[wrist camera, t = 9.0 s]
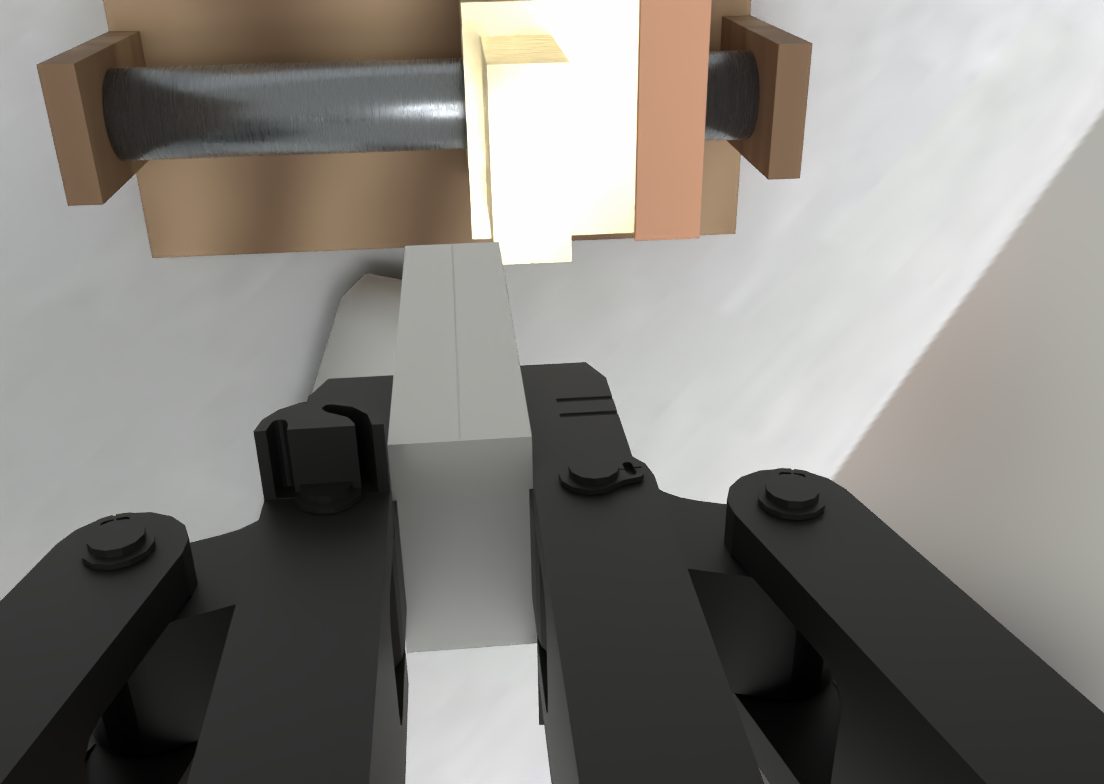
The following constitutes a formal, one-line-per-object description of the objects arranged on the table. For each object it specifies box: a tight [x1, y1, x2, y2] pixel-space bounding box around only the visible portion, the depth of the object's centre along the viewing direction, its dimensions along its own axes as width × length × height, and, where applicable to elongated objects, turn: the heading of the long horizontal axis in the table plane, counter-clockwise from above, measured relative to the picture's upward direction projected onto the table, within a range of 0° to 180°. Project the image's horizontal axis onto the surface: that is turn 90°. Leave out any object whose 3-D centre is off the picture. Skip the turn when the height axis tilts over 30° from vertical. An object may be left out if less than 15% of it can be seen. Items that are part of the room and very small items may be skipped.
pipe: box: [102, 50, 760, 161], centre depth 33 cm, size 21×3×3 cm, turn 91°
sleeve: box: [459, 0, 640, 264], centre depth 31 cm, size 5×7×12 cm
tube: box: [312, 273, 402, 393], centre depth 44 cm, size 5×5×25 cm
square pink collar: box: [632, 0, 712, 241], centre depth 34 cm, size 2×7×7 cm, turn 1°
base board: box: [37, 0, 812, 258], centre depth 34 cm, size 22×12×8 cm, turn 91°
